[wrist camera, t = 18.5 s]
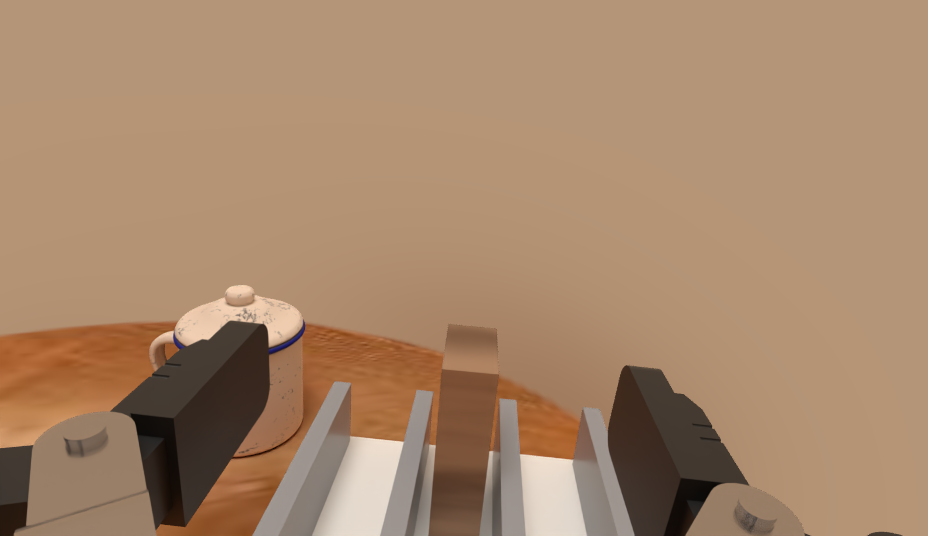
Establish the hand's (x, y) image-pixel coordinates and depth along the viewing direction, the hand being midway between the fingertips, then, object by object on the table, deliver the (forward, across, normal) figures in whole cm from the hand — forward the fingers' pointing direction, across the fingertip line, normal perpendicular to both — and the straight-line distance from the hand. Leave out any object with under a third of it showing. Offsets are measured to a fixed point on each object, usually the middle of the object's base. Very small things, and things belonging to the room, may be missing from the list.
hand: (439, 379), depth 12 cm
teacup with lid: (+25, +18, +22) cm, 37 cm away
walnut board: (+17, -1, +20) cm, 26 cm away
